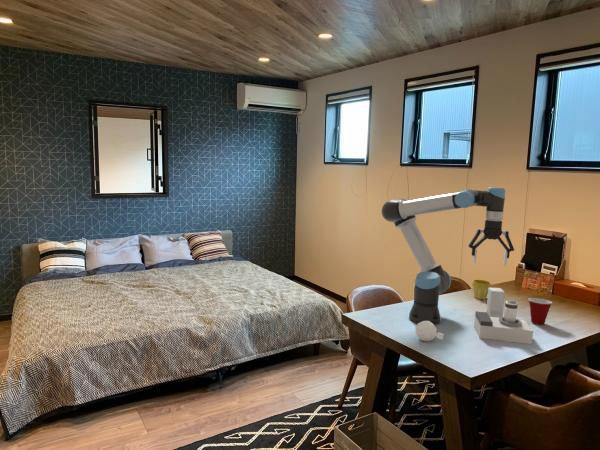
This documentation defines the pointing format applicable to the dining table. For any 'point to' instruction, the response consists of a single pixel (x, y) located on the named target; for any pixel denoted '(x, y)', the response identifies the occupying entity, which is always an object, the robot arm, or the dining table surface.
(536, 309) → the plastic cup
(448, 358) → the dining table surface
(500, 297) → the skincare box
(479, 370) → the dining table surface
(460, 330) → the dining table surface
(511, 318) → the lens
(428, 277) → the robot arm
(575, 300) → the dining table surface
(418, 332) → the perfume bottle
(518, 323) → the camera body
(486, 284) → the plant pot
